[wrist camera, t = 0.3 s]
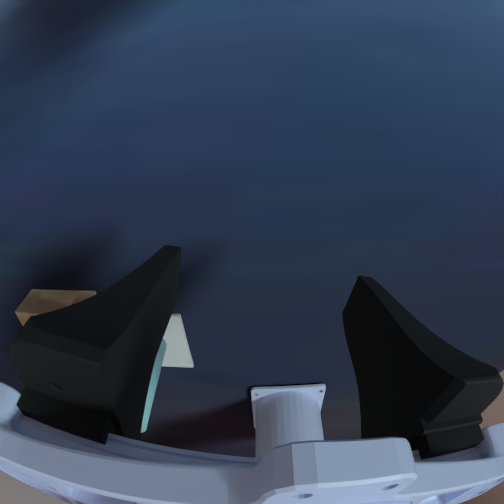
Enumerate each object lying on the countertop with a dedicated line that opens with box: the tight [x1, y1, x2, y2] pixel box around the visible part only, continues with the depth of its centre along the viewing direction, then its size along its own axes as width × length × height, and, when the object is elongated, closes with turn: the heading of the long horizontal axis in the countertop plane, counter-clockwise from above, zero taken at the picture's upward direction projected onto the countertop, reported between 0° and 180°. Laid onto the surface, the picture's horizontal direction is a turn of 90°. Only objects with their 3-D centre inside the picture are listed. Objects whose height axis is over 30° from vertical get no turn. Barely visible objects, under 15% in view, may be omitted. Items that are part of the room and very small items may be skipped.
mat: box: [162, 314, 194, 367], centre depth 29 cm, size 7×7×1 cm
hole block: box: [15, 289, 97, 326], centre depth 29 cm, size 16×8×4 cm, turn 3°
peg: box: [141, 339, 167, 433], centre depth 25 cm, size 3×3×9 cm
